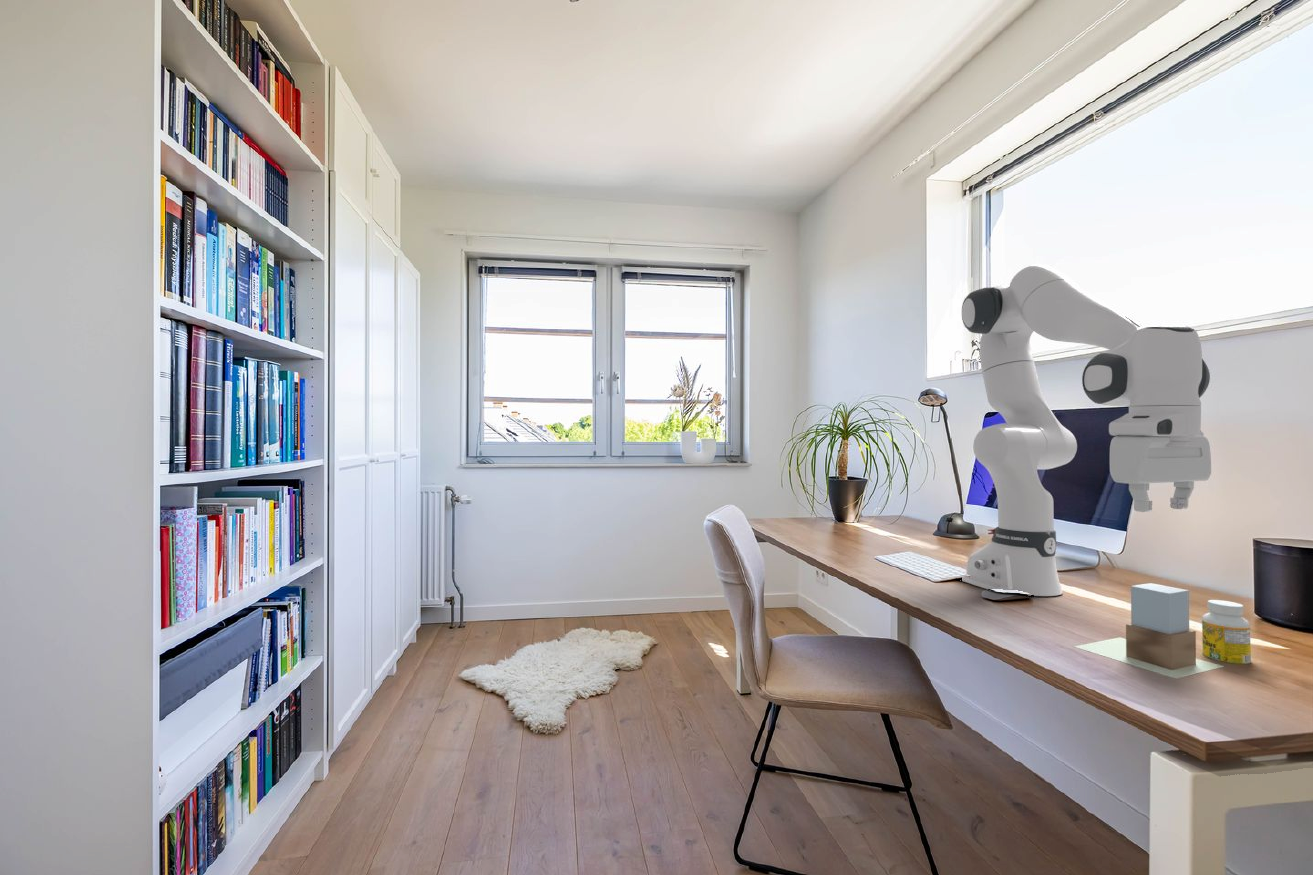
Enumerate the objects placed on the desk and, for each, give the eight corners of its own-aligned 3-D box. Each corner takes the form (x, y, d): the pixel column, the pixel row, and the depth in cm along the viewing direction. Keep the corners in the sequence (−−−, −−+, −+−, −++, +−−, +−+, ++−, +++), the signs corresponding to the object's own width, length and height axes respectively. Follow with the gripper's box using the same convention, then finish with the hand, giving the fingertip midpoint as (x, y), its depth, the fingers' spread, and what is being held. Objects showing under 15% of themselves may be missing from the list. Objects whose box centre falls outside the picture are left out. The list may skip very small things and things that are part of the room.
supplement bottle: (1258, 673, 88) (1258, 609, 88) (1212, 668, 90) (1212, 605, 90) (1238, 661, 93) (1238, 600, 93) (1195, 656, 95) (1195, 597, 95)
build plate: (1073, 653, 96) (1073, 646, 96) (1120, 644, 100) (1120, 637, 100) (1176, 686, 83) (1176, 678, 83) (1224, 674, 87) (1224, 666, 87)
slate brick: (1131, 624, 91) (1131, 585, 91) (1150, 620, 93) (1150, 583, 93) (1169, 634, 87) (1169, 593, 87) (1189, 630, 88) (1188, 590, 88)
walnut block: (1126, 656, 91) (1125, 624, 91) (1149, 651, 94) (1149, 619, 94) (1172, 670, 86) (1171, 635, 86) (1195, 664, 88) (1195, 630, 88)
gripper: (1179, 425, 101) (1177, 504, 102) (1101, 424, 94) (1099, 510, 94) (1225, 425, 95) (1223, 509, 96) (1146, 424, 88) (1144, 516, 88)
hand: (1161, 510), depth 95 cm, fingers open, 8 cm apart
